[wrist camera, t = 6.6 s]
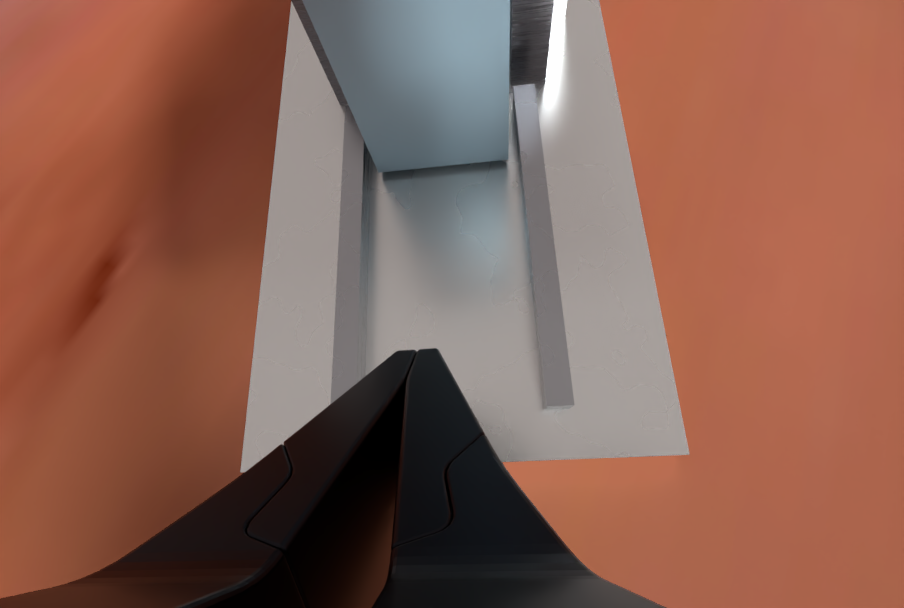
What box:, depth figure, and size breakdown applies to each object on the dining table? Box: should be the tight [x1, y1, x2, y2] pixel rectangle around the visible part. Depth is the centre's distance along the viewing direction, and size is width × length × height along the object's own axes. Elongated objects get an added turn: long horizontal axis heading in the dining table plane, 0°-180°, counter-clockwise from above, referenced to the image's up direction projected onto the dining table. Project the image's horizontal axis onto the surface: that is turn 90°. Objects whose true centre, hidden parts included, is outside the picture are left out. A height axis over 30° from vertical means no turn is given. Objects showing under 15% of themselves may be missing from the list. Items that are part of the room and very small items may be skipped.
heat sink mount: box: [240, 0, 690, 472], centre depth 16 cm, size 24×14×7 cm, turn 3°
